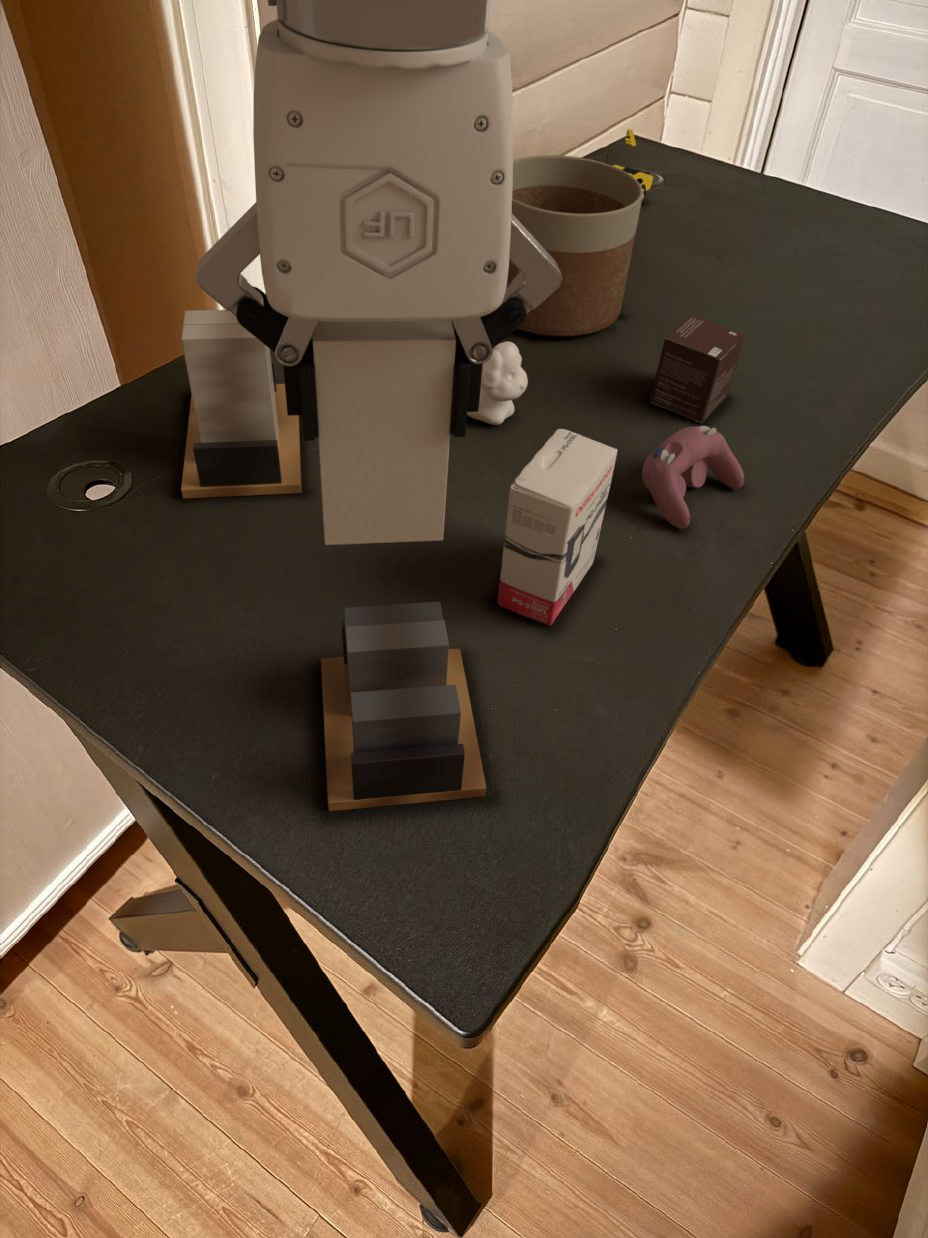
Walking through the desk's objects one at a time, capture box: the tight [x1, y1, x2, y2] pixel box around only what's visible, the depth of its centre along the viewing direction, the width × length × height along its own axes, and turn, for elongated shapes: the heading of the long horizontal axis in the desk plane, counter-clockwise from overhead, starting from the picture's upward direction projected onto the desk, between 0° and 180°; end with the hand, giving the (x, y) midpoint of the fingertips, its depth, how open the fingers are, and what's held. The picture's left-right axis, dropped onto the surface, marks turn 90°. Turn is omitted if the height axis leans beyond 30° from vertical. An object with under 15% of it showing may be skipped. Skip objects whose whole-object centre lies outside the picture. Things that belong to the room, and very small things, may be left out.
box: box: [649, 314, 746, 424], centre depth 89 cm, size 6×6×7 cm
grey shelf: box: [320, 601, 487, 812], centre depth 59 cm, size 10×12×8 cm
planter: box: [487, 154, 643, 338], centre depth 99 cm, size 16×16×14 cm
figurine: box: [467, 341, 529, 426], centre depth 85 cm, size 5×8×8 cm
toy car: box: [605, 128, 654, 204], centre depth 123 cm, size 12×8×8 cm, turn 145°
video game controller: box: [641, 425, 745, 530], centre depth 79 cm, size 10×5×7 cm, turn 135°
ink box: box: [497, 428, 618, 627], centre depth 68 cm, size 8×5×12 cm, turn 151°
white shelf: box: [180, 309, 303, 499], centre depth 78 cm, size 10×16×13 cm, turn 8°
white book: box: [311, 321, 456, 546], centre depth 45 cm, size 6×2×12 cm, turn 98°
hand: (383, 420), depth 45 cm, fingers closed on white book, 6 cm apart
